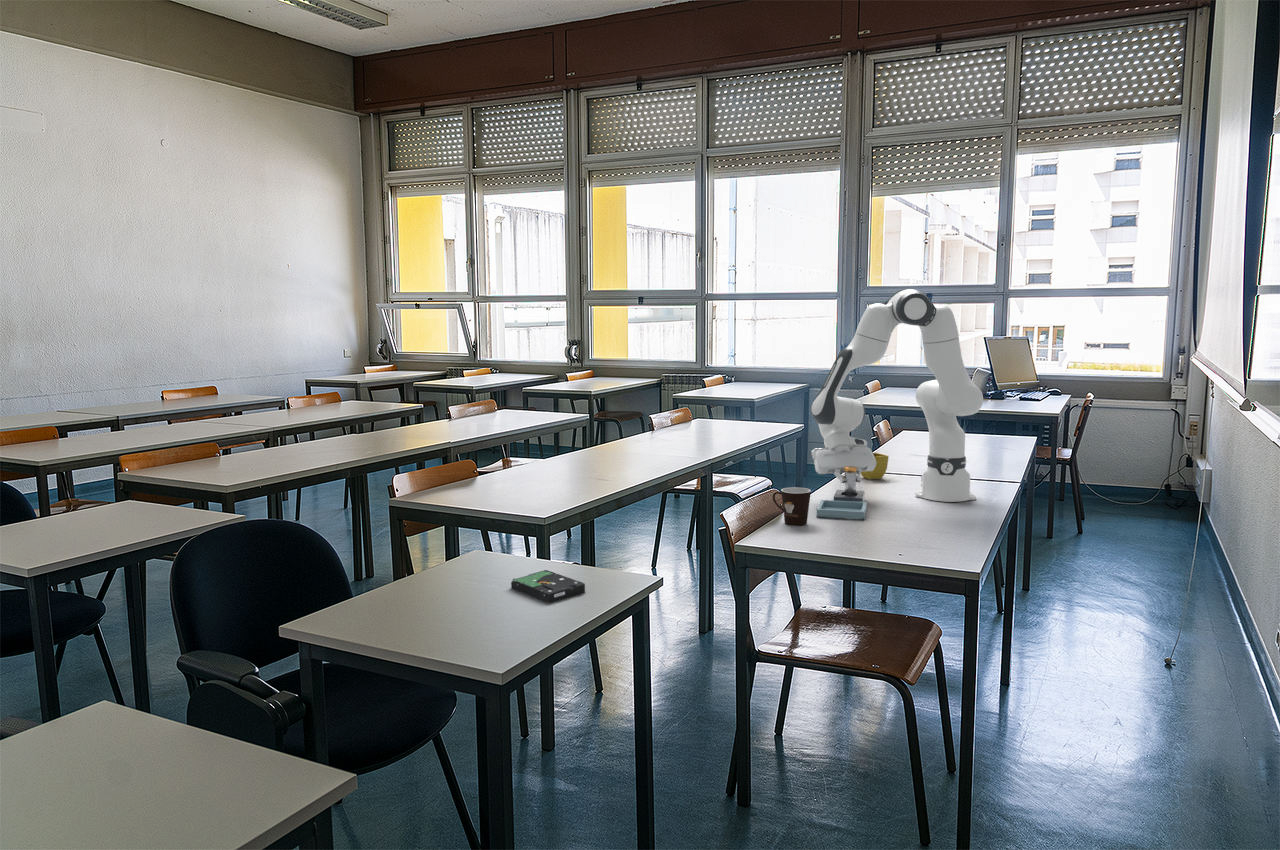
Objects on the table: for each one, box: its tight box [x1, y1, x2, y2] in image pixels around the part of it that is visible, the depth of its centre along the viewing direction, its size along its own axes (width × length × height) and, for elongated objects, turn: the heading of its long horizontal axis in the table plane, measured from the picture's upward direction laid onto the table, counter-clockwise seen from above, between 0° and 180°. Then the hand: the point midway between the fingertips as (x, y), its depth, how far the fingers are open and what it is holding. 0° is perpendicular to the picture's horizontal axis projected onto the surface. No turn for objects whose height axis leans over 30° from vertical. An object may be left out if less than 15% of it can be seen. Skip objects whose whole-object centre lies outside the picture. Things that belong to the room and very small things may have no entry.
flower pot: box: [860, 452, 889, 480], centre depth 317 cm, size 9×9×9 cm
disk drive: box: [510, 569, 586, 604], centre depth 192 cm, size 10×3×15 cm
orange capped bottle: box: [844, 466, 857, 496], centre depth 276 cm, size 4×4×11 cm
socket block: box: [833, 489, 866, 502], centre depth 276 cm, size 12×9×3 cm
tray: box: [816, 499, 868, 520], centre depth 261 cm, size 14×14×2 cm
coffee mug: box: [772, 487, 812, 527], centre depth 251 cm, size 12×9×10 cm
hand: (851, 481), depth 275 cm, fingers closed on orange capped bottle, 4 cm apart
